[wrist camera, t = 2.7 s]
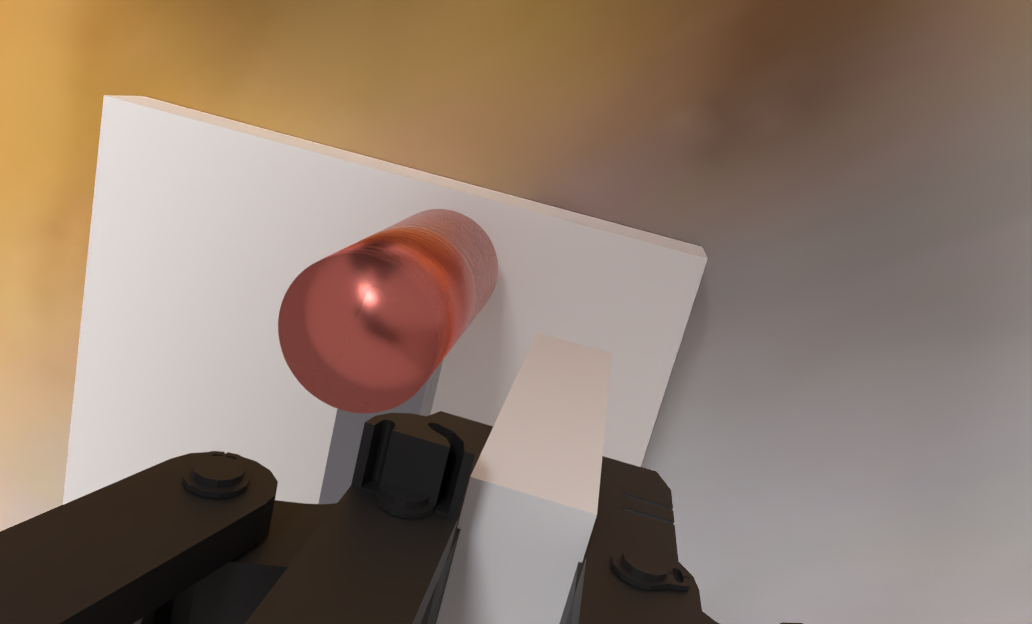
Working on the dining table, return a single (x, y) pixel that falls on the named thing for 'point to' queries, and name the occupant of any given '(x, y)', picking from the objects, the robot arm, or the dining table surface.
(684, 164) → the dining table surface
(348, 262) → the lever
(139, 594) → the robot arm
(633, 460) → the base
